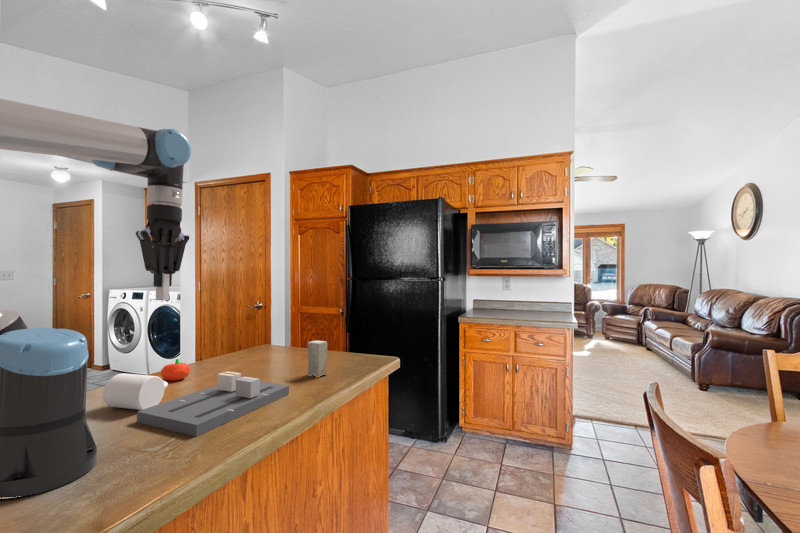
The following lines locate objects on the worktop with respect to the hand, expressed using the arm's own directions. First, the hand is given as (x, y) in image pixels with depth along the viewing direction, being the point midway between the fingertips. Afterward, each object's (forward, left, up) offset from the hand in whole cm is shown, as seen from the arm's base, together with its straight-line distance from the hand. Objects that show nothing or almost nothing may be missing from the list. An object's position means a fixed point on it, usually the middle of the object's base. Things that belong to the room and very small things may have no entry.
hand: (162, 299), depth 96 cm
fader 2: (+9, -19, -24) cm, 32 cm away
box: (+41, -19, -27) cm, 52 cm away
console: (+6, -14, -26) cm, 30 cm away
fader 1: (+11, -12, -24) cm, 28 cm away
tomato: (+18, +17, -27) cm, 36 cm away
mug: (-1, +5, -27) cm, 27 cm away
